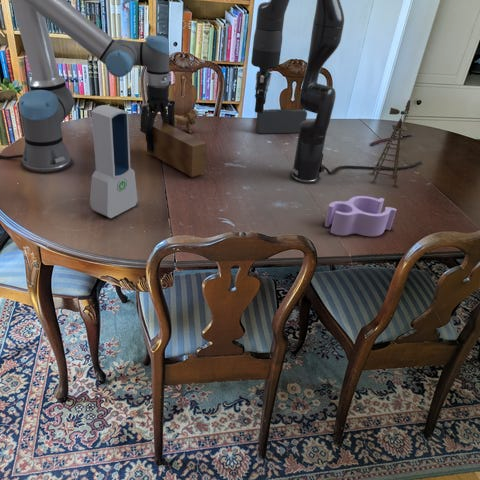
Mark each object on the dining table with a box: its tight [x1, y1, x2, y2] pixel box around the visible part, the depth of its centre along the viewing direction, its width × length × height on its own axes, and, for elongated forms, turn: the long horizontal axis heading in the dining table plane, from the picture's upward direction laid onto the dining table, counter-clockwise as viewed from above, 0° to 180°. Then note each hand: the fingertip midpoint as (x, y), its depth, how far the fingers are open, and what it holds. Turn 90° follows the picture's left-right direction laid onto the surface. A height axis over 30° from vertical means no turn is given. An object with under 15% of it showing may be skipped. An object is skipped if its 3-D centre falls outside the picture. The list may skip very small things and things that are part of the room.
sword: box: [370, 134, 411, 146], centre depth 212 cm, size 31×3×1 cm, turn 126°
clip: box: [324, 195, 398, 237], centre depth 141 cm, size 20×12×7 cm, turn 109°
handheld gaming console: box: [255, 108, 308, 134], centre depth 205 cm, size 23×3×10 cm, turn 108°
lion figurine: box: [174, 108, 200, 133], centre depth 195 cm, size 15×5×9 cm, turn 110°
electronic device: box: [89, 104, 139, 219], centre depth 131 cm, size 12×8×30 cm, turn 148°
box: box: [146, 120, 208, 178], centre depth 165 cm, size 26×6×11 cm, turn 45°
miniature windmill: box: [371, 99, 411, 187], centre depth 166 cm, size 9×8×30 cm
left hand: (157, 148), depth 173 cm, fingers closed on box, 6 cm apart
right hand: (260, 107), depth 132 cm, fingers open, 8 cm apart
